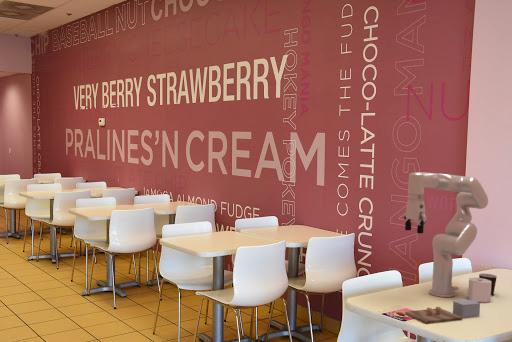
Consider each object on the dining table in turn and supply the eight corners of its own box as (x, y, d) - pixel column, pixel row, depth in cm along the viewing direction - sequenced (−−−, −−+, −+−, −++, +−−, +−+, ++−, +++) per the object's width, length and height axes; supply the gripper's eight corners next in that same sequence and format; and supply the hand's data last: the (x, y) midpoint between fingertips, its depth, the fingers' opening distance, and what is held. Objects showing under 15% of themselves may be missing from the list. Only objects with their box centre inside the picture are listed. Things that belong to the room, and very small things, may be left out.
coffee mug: (496, 297, 274) (497, 278, 274) (478, 295, 277) (479, 276, 276) (494, 291, 285) (495, 273, 285) (477, 289, 288) (478, 271, 287)
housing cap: (469, 312, 246) (470, 299, 245) (479, 316, 240) (480, 303, 240) (452, 314, 242) (453, 301, 242) (462, 318, 236) (463, 304, 236)
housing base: (440, 310, 247) (440, 301, 246) (462, 319, 234) (462, 310, 233) (405, 314, 239) (405, 305, 239) (425, 324, 226) (426, 314, 226)
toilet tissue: (487, 297, 272) (488, 278, 272) (493, 304, 260) (494, 284, 260) (466, 295, 274) (467, 276, 274) (470, 302, 263) (471, 282, 262)
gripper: (433, 199, 255) (431, 234, 255) (411, 195, 271) (409, 228, 272) (420, 199, 252) (418, 234, 253) (399, 195, 268) (397, 229, 269)
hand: (414, 231), depth 262 cm, fingers open, 9 cm apart
